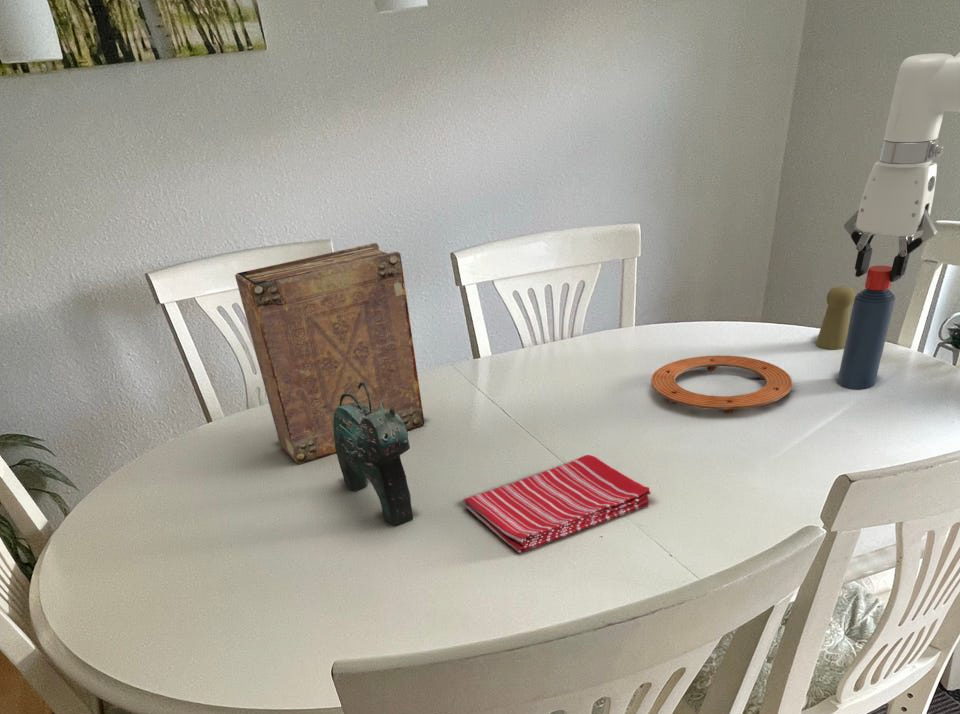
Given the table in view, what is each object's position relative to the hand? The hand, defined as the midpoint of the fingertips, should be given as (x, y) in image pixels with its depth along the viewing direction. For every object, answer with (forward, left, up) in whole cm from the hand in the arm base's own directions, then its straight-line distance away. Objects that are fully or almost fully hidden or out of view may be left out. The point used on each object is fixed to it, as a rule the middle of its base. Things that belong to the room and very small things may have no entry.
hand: (878, 276), depth 132 cm
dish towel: (+13, +68, -19) cm, 71 cm away
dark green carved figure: (+36, +85, -19) cm, 94 cm away
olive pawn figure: (+13, -16, -19) cm, 28 cm away
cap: (0, 0, -2) cm, 2 cm away
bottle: (0, 0, -18) cm, 18 cm away
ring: (+18, +17, -19) cm, 31 cm away
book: (+60, +72, -19) cm, 95 cm away
